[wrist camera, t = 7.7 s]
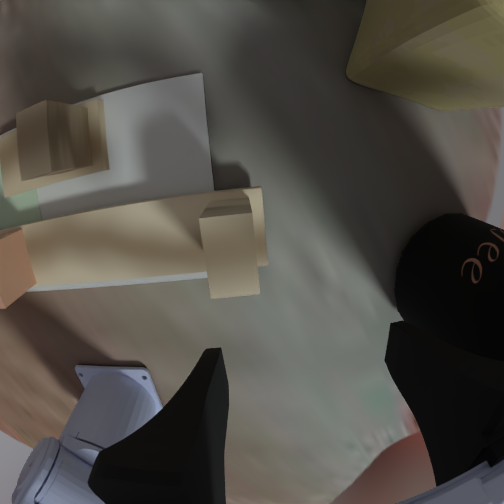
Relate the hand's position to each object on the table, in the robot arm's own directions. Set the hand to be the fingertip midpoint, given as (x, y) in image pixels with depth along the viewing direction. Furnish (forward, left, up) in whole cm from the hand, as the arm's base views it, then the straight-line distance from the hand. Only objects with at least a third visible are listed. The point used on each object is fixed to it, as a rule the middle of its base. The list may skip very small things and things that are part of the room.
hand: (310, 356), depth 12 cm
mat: (+7, +20, -10) cm, 24 cm away
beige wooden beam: (+3, +13, -10) cm, 17 cm away
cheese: (+23, -12, -11) cm, 28 cm away
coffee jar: (-2, -14, -11) cm, 18 cm away
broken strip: (+11, +23, -10) cm, 27 cm away
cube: (+3, +21, -9) cm, 23 cm away
